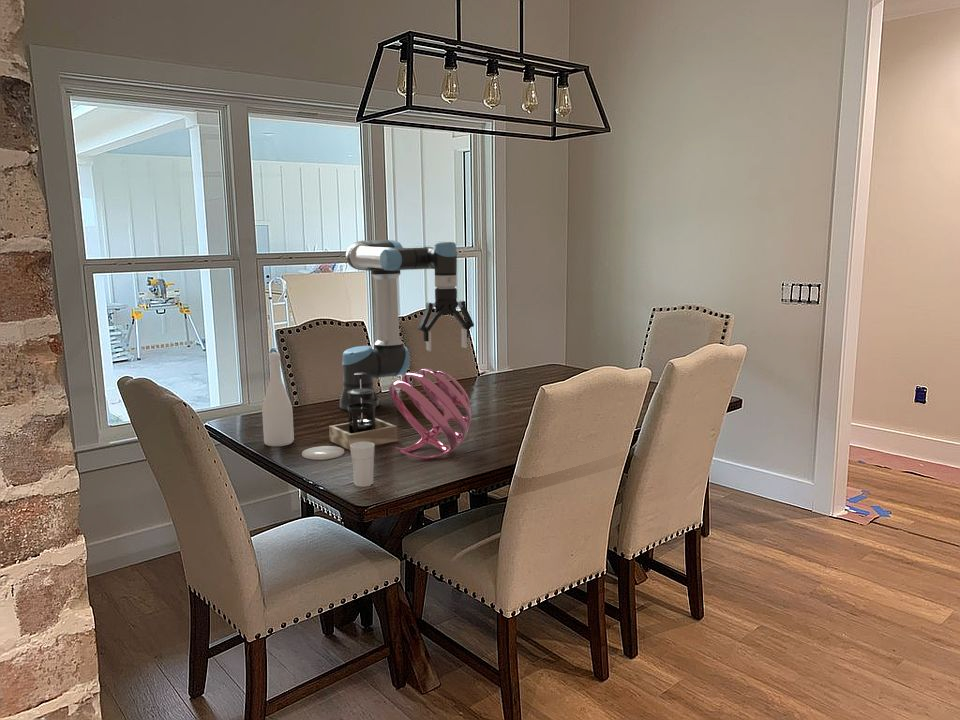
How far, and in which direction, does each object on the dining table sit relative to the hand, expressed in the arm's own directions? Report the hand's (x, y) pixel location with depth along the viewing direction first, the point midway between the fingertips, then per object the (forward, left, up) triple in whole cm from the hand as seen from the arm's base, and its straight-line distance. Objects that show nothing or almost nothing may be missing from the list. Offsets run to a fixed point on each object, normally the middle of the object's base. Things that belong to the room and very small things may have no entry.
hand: (446, 349), depth 263 cm
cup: (+35, -53, -28) cm, 69 cm away
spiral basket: (+23, -22, -28) cm, 42 cm away
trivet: (+2, -49, -28) cm, 56 cm away
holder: (-3, -32, -28) cm, 42 cm away
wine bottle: (-18, -55, -28) cm, 64 cm away
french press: (-3, -32, -28) cm, 43 cm away
